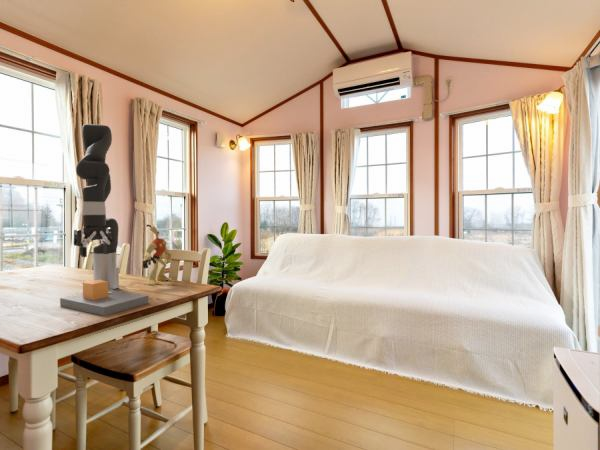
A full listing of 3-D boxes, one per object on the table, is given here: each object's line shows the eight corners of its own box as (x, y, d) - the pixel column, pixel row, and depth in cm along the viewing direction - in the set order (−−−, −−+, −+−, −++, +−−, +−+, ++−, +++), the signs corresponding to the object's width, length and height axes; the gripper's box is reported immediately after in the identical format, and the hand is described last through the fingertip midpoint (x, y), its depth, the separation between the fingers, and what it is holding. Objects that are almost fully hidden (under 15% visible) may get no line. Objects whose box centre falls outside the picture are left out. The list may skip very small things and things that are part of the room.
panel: (106, 295, 139) (106, 287, 139) (148, 303, 128) (148, 294, 128) (60, 306, 123) (60, 296, 122) (103, 315, 111) (103, 305, 111)
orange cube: (98, 294, 128) (98, 279, 128) (108, 296, 126) (108, 281, 126) (83, 298, 123) (82, 282, 123) (92, 300, 120) (92, 284, 120)
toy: (149, 288, 152) (149, 225, 150) (133, 288, 153) (132, 225, 152) (176, 279, 174) (176, 224, 173) (161, 278, 176) (161, 223, 175)
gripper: (105, 213, 131) (106, 252, 132) (68, 213, 118) (69, 257, 119) (118, 213, 128) (118, 253, 129) (81, 214, 115) (82, 258, 116)
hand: (95, 255), depth 124 cm, fingers open, 8 cm apart
